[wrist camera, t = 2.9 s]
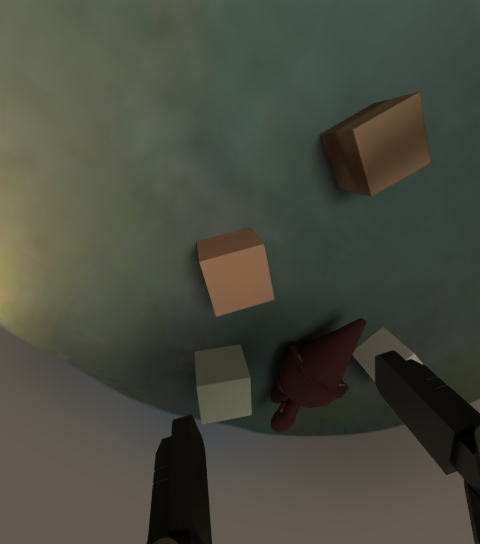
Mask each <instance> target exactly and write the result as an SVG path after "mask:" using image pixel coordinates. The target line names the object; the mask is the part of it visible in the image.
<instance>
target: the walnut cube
mask: <svg viewBox="0 0 480 544" xmlns="http://www.w3.org/2000/svg"><path fill="white" fill-rule="evenodd" d="M321 137H322V140H323V143H324V146H325V149H326V152H327V155H328V158H329V161H330V164H331V167H332V171H333V174H334V177H335V180H336V183H337V186H338V188H339V189H343V190H347V191H351V192H355V193H360V194H364V195H368V196H373V195H375V194H376V193H378V192H380V191H382V190H384V189H385V188H387V187H389V186H391V185H392V184H394V183H396V182H398V181H400V180H401V179H403V178H405V177H407V176H409V175H410V174H412V173H414V172H416V171H418V170H419V169H421V168H423V167H425V166H427V165H428V164H430V163H431V160H430V154H429V148H428V141H427V135H426V129H425V123H424V116H423V110H422V104H421V98H420V92H417V93H413V94H409V95H405V96H401V97H397V98H393V99H389V100H385V101H382V102H378V103H374V104H372V105H370V106H369V107H367V108H365V109H363V110H361V111H360V112H358V113H356V114H354V115H353V116H351V117H349V118H347V119H346V120H344V121H342V122H340V123H339V124H337V125H335V126H333V127H332V128H330V129H328V130H326V131H325V132H323V133H321Z"/></svg>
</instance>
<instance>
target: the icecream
mask: <svg viewBox="0 0 480 544" xmlns="http://www.w3.org/2000/svg"><path fill="white" fill-rule="evenodd" d="M365 324H366V321H365V320H364V319H362V318H361V319H358V320H356V321H354V322H352V323H350V324H348V325H346V326H344V327H342V328H340V329H338V330H335V331H333V332H331V333H329V334H327V335H325V336H323V337H321V338H319V339H316V340H314V341H312V342H310V343H308V344H306V345H305V344H303V343H302V342H299V341H295V342H294V343H293V344H292V345H290V346H289V349H290V351H289V352H288V353H287V354H286V356H285V357H283V359H282V365H281V369H280V376H278V377H277V379H276V384H277V386H276V387H275V388H274V390H273V391H272V393H271V401H273V402H274V403H280V402H281V405H280V407H279V408H278V410H277V411H276V412H275V414H274V415H273V417H272V420H271V427H272V429H273V430H275V431H277V432H283V431H285V430H287V429H288V428H290V426H291V425H292V424H293V423H294V421H295V416H296V415H297V413H298V410H299V407H300V406H302V407H306V408H312V407H319V406H324V405H328V404H329V403H331V402H332V401H334V400H335V399H336V397H337V398H341V397H342V396H343V394H344V393H345V392H346V391H347V390H348V389H349V388H348V385H347V384H345V383H344V382H343V379H342V378H343V375H344V373H345V371H346V368H347V366H348V364H349V361H350V359H351V357H352V354H353V352H354V350H355V348H356V345H357V343H358V341H359V338H360V336H361V334H362V332H363V329H364V327H365ZM288 398H289V399H288ZM285 400H286V401H285Z"/></svg>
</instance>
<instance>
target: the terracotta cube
mask: <svg viewBox="0 0 480 544" xmlns="http://www.w3.org/2000/svg"><path fill="white" fill-rule="evenodd" d="M197 249H198V256H199V263H200V266H201V269H202V272H203V276H204V279H205V282H206V285H207V288H208V292H209V295H210V298H211V301H212V305H213V308H214V311H215V314H216V317H218V316H221V315H224V314H228V313H231V312H235V311H238V310H241V309H245V308H248V307H252V306H255V305H258V304H262V303H265V302H269V301H272V300H275V299H274V294H273V288H272V283H271V278H270V273H269V267H268V262H267V257H266V252H265V247H264V243H263V242H262V241H261V240H260V239H259V238H258V237H257V235H256V234H255V233H254V232H253V231H252V230H251V229H250V228H247V229H243V230H240V231H236V232H232V233H228V234H225V235H221V236H217V237H214V238H210V239H206V240H202V241H199V242H197Z"/></svg>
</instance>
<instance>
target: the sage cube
mask: <svg viewBox="0 0 480 544" xmlns="http://www.w3.org/2000/svg"><path fill="white" fill-rule="evenodd" d="M195 369H196V387H197V394H198V401H199V408H200V415H201V422H202V425H204V424H209V423H214V422H219V421H224V420H229V419H234V418H240V417H245V416H250V415H252V408H251V381H250V374H249V371H248V368H247V364H246V361H245V358H244V354H243V351H242V347H241V344H239V345H233V346H226V347H220V348H214V349H207V350H201V351H195Z"/></svg>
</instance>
